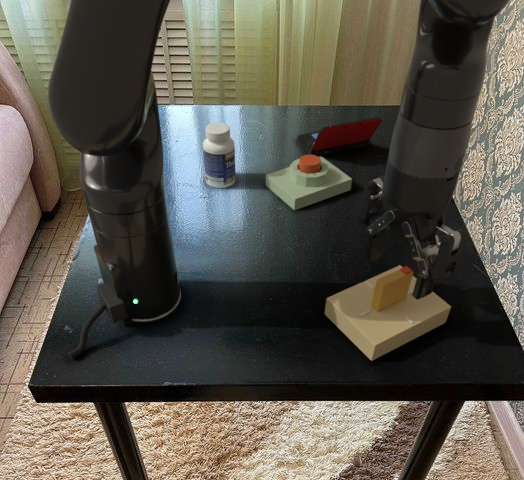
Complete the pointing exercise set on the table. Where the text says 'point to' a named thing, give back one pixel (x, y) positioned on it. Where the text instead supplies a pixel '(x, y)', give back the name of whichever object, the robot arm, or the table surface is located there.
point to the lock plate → (384, 317)
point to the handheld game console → (340, 137)
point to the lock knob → (391, 288)
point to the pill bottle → (219, 156)
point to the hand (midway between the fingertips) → (396, 276)
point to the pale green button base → (307, 184)
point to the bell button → (309, 164)
